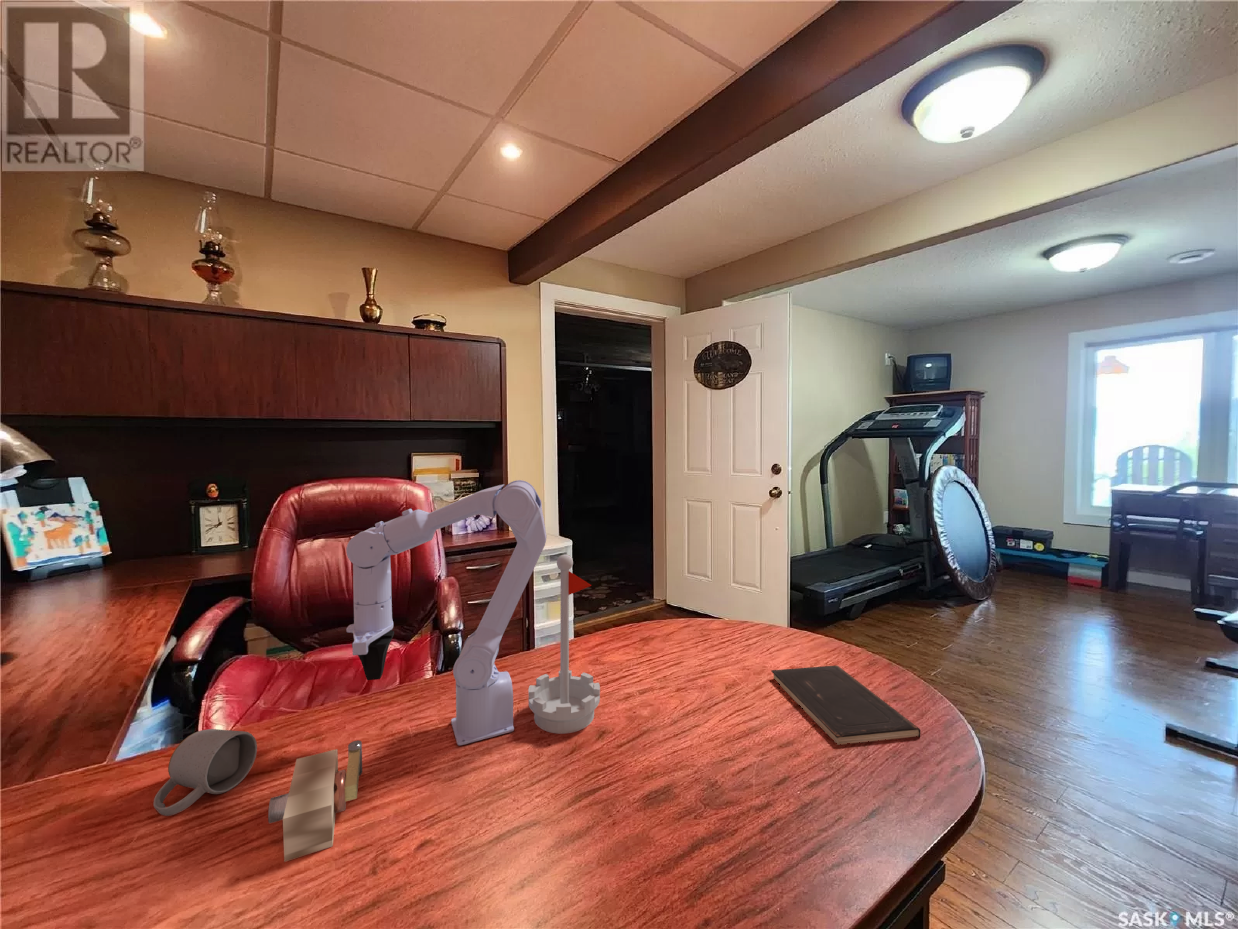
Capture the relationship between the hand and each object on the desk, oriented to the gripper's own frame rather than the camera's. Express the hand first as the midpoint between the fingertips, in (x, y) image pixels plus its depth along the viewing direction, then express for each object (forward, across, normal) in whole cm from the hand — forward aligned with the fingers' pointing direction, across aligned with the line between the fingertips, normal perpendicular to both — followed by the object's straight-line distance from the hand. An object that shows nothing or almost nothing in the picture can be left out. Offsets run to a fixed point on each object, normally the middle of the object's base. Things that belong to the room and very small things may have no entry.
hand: (374, 677), depth 83 cm
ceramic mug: (+10, +10, -20) cm, 25 cm away
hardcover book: (+11, +6, +85) cm, 85 cm away
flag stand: (+10, 0, +32) cm, 34 cm away
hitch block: (+10, +18, -2) cm, 21 cm away
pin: (+9, +19, -3) cm, 21 cm away
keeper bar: (+10, +14, +1) cm, 17 cm away
